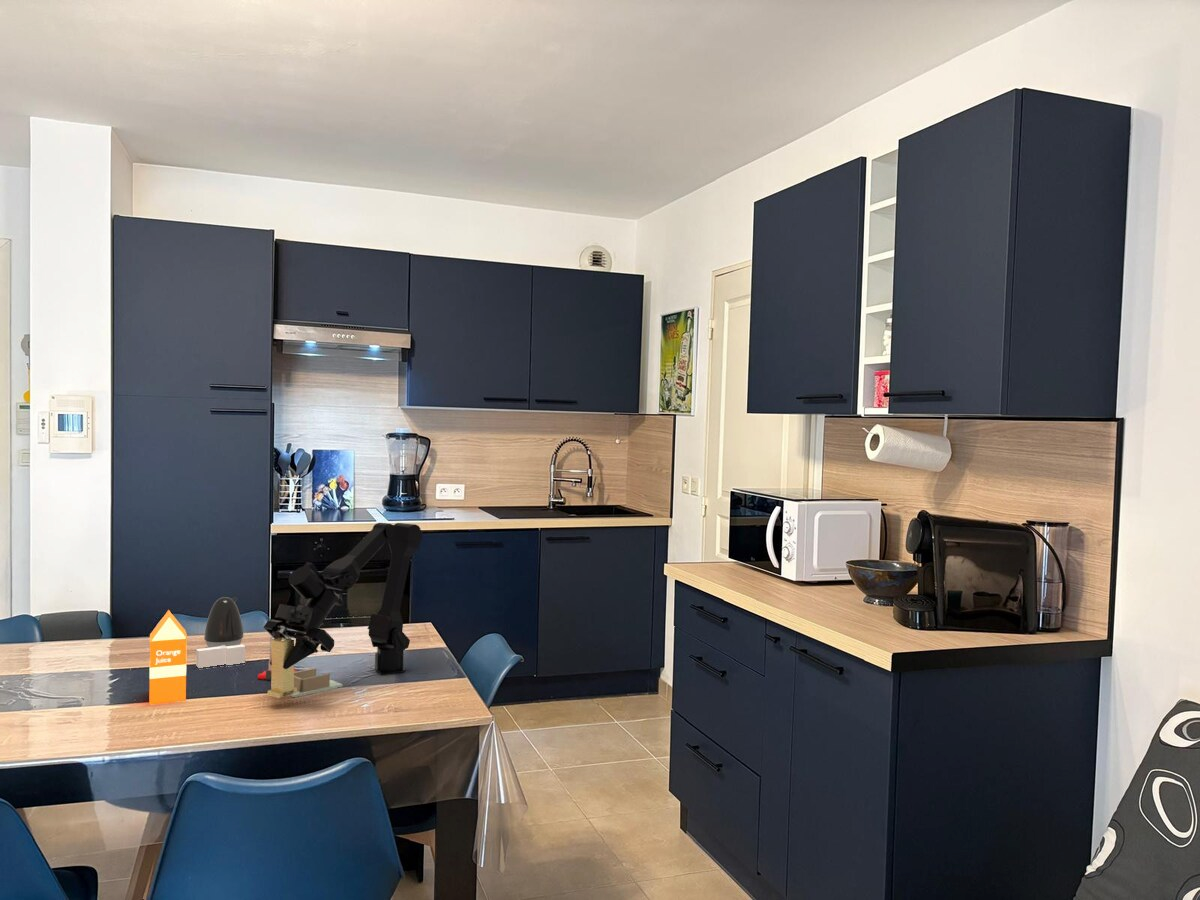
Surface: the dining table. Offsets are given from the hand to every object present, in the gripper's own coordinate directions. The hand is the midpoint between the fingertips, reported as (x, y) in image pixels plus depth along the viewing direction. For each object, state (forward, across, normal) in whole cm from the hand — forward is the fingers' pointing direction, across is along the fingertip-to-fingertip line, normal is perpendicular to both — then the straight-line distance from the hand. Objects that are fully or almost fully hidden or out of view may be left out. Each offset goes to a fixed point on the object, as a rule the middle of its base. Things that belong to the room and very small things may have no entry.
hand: (277, 666), depth 197 cm
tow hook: (-5, -20, +19) cm, 28 cm away
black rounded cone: (-10, -52, +24) cm, 59 cm away
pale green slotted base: (-3, -5, +16) cm, 18 cm away
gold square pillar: (+4, 0, +6) cm, 7 cm away
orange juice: (+14, -26, 0) cm, 30 cm away
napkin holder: (-3, -39, +17) cm, 43 cm away
